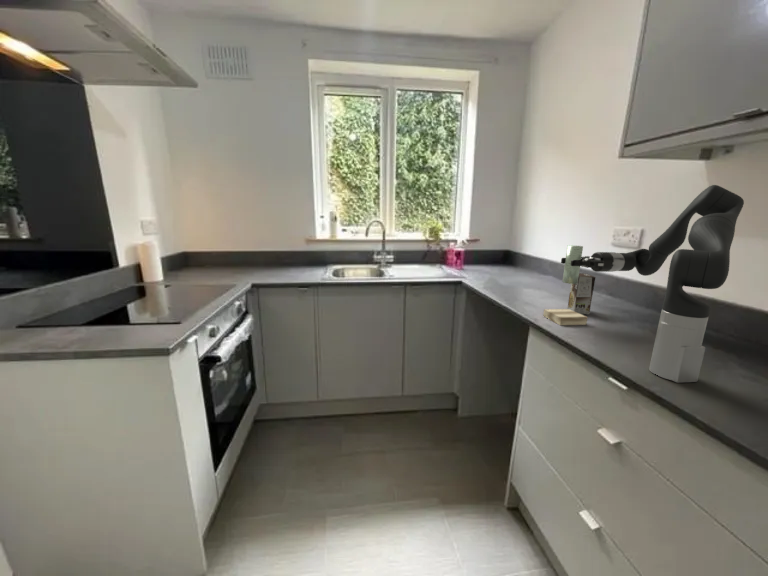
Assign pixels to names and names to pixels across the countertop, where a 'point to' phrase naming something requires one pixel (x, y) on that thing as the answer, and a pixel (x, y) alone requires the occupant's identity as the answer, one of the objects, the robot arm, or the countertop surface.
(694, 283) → the robot arm
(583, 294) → the coffee box
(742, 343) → the countertop surface
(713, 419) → the countertop surface
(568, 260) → the pale green cylinder
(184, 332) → the countertop surface
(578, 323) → the shelf stand
